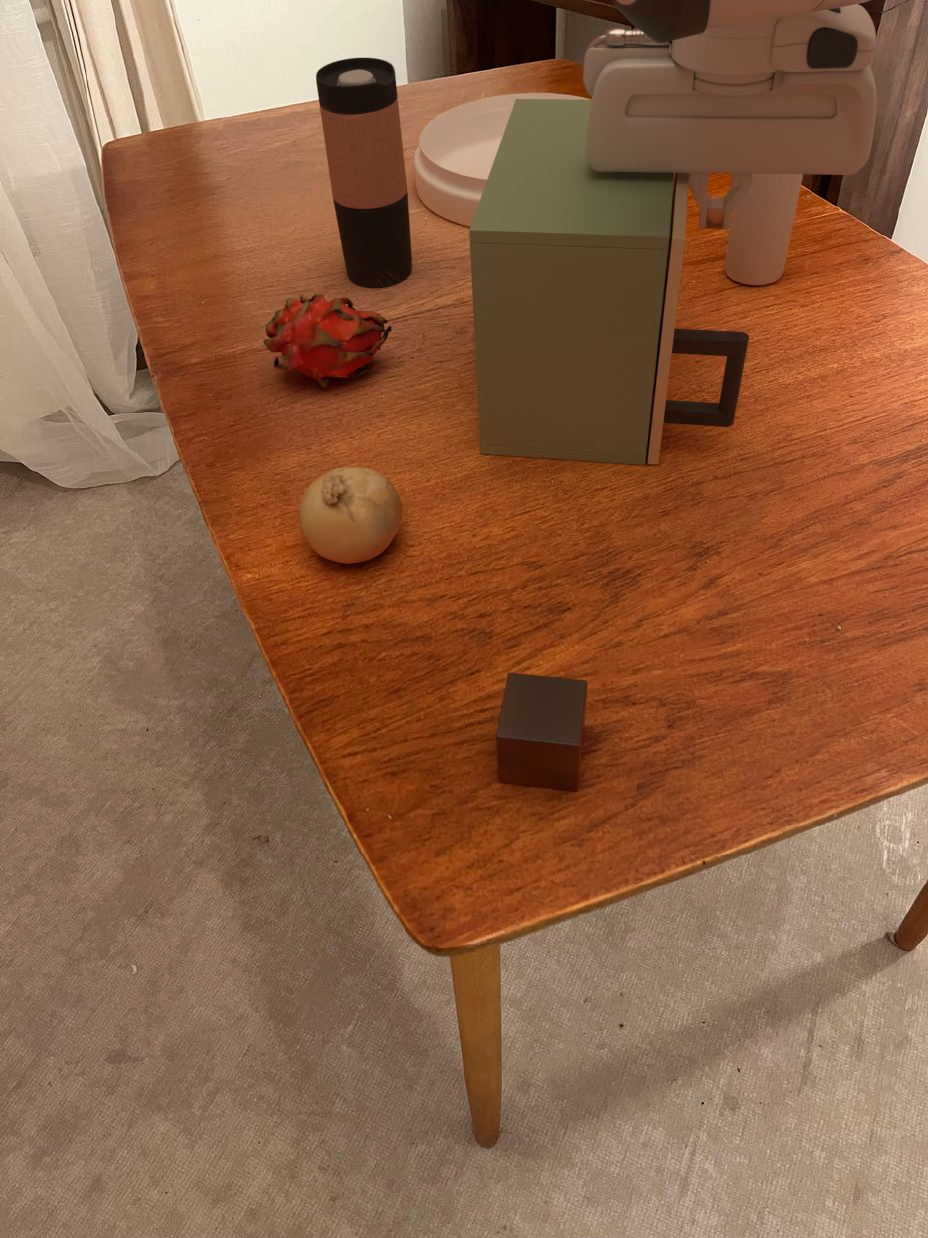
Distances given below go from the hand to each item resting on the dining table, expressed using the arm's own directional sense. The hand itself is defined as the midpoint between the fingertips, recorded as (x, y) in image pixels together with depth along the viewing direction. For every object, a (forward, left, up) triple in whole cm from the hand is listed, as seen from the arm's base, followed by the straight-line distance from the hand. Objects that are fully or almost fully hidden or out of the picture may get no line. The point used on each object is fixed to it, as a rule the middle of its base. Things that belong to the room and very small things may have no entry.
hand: (713, 225), depth 76 cm
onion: (+25, +22, -16) cm, 37 cm away
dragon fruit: (+33, -1, -16) cm, 37 cm away
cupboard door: (0, -2, -16) cm, 16 cm away
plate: (+20, -43, -16) cm, 50 cm away
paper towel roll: (-7, -23, -16) cm, 29 cm away
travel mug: (+33, -20, -16) cm, 42 cm away
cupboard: (+10, -2, -16) cm, 19 cm away
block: (+8, +40, -16) cm, 44 cm away
